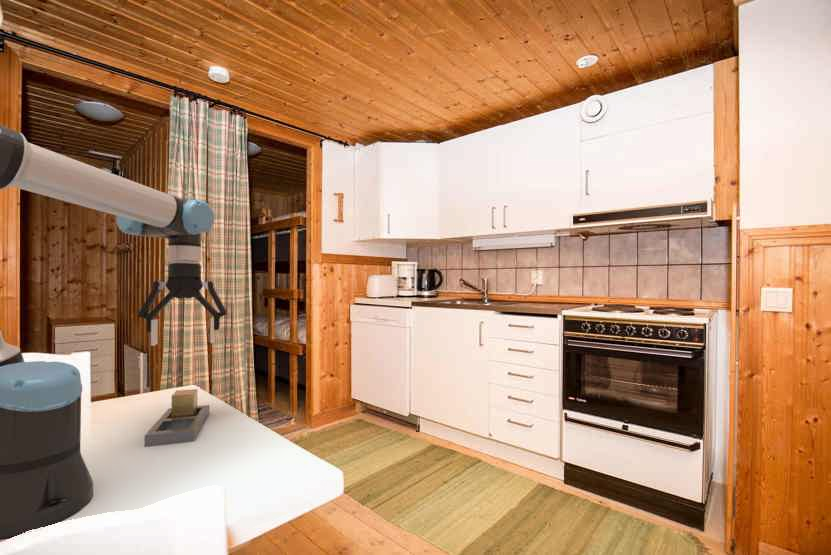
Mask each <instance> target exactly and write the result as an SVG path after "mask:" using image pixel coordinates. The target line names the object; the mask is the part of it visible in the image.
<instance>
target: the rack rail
mask: <svg viewBox="0 0 831 555" xmlns="http://www.w3.org/2000/svg"><path fill="white" fill-rule="evenodd" d="M210 410H211V409H210V404H204V405H197V416H190V417H179V418H171V416H172V407H170V408H167V410H166V411H165V412H164V413H163V415H162V416H160V418H159V419H158V420H157V421H156V422H155V424H153V425H152V426H151V428H150V429H149V430H148V431H147V432H146V433H145V435H144V448H145V447H153V446H154V447H155V446H163V445H172V444H179V443H180V444H181V443H189V442H195V441H196V439H197V437H198V436H199V433H200V432H201V430H202V428H203V427H204V425H205V423H206V421H207V419H208V418H209V416H210V413H211V412H210Z"/></svg>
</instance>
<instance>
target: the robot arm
mask: <svg viewBox="0 0 831 555" xmlns="http://www.w3.org/2000/svg"><path fill="white" fill-rule="evenodd" d="M10 188H16V189H20V190H24V191H27V192H31V193H35V194H38V195H41V196H46V197H49V198H53V199H56V200H59V201H63V202H67V203H70V204H74V205H77V206H82V207H85V208H88V209H93V210H95V211H99V212H103V213H106V214H110V215H112V216H113V215H114V216H116V225H117V227H118V229H119V230H120V231H121V232H122V233H124V234H127V235H132V236H136V237H140V236H141V237H151V238H162V239H167V241H168V242H167V243H168V245H167V246H168V248H167V249H168V251H167V253H168V256H167V261H168V262H170V263H169V264H168V265H167V281H165V282H164V281H160V280H155V281H154V282H153V284H152V290H151V291H150V293H149V295H148V297H147V298H146V299H145V302H144V303H143V305H142V307H141V308H140V309H139V312H138V314H137V316H138V317H139V318H143V319H145V321H146V332H147V333H150V346H153V347H154V346H156V345H158V342H159V340H158V337H159V336H158V334H159V332H158V330H159V328H158V327H159V326H158V325H159V319H158V318H156V317H157V315H158V314H159V313H161V311H162V310H163V309H164V308H165V307H166V306H167V305H168V304H169V303H170V302H172V300H174V299H184V298H185V299H193V298H194V299H195V300H197V301H198V302H199V303H200V304H201V305H202V306H203V308H205V310H207V312H208V313H210V315H211V316H212V317H211V318H210V330H209V332H210V340H209V341H210V344H214V343H215V342H216V331H218V330H220V325H221V323H220V321H221V317H224V316H227V314H228V311H227V309H226V307H225V305H224V303H223V302H222V300H221V298H220V296H219V294H218V292H217V290H216V289H215V282H214V281H211V280H210V281H205V282H202V265H201V264H200V262H202V234H204V233H207V232H209V231H210V230H211V229H212V228H213V226H214V221H215V213H214V211H213V208H212V207H211V206H210V205H209V203H207V202H206V201H204V200H199V199H189V200H186V199H183V198H180V197H177V196H175V195H171V194H169V193H166V192H163V191H160V190H157V189H155V188H152V187H150V186H146V185H144V184H141V183H139V182H136V181H133V180H130V179H128V178H125V177H123V176H120V175H117V174H114V173H112V172H109V171H108V170H107V171H106V170H104V169H100V168H98V167H96V166H93V165H91V164H87V163H85V162H82V161H81V160H80V161H79V160H76V159H74V158H71V157H68V156H66V155H64V154H61V153H57V152H55V151H52V150H50V149H48V148H44V147H41V146H39V145H36V144H33V143H31V142H28V140H27V138H26V137H25V136H24V134H23V133H22V132H20V131H18V130H14V129H11V128H9V127H6V126H4V125H2V124H0V191H3V190H7V189H10ZM203 287H204V289H205V290H207V291H208V293H209V295H210V296H211V298H212V300H213V302H214V304H215V306H216V308H217V309H218V310H219V311H217V309H216V308H215V307H213V305H212V304H211V303H210V302H209V301H208V300H207V299H206V298H205V297H204V295H203V294H202V293H201V292H200V291H201V290H202V289H203ZM164 288H166V289H167V290H168V293H167V294H166V295H165V296H164V298H163V299H162V300H161V301H159V303H157V305H156V306H154V308H153V309H151V308H152V307H153V304H155V301H156V299H157V298H158V296H159V294H160V292H161V291H162V290H164ZM150 309H151V311H150ZM81 379H82V378H81V373H80V370H79V369H78V368H77V367H76V366H75V365H72V364H70V363H66V362H61V361H44V360H41V361H40V360H37V361H36V360H35V361H25V359H24V357H23V354H22V351H21V348H20V347H19V346H17V345H12V344H9V343H8V342H6V341H5V339H4V337H3V333H2V331H1V329H0V539H6V538H9V537H10V538H11V537H14V536H19V535H22V534H21V533H23V532H26V531H29V530H32V529H37V528H40V527H43V526H45V527H48V526H50V524H51V525H54V524H55V523H57V522H60V521H62V520H64V519H66V518H68V517H70V516H72V515H73V514H75V513H78V512H79V511H80V510H81V509H83V508H84V507H86V505H88V504H89V503H90V502H91V500H93V496H94V480H93V478H92V476H91V474H90V470H89V469H88V467H87V465H86V462H85V460H84V457H83V456H82V454H81V434H82V432H81V429H82V428H81V426H82V425H81V424H82V419H81V418H82V393H83V383H82V380H81ZM47 525H48V526H47ZM43 528H44V527H43ZM40 529H41V528H40ZM37 530H38V529H37ZM18 534H19V535H18ZM23 534H24V533H23Z"/></svg>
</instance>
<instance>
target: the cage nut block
mask: <svg viewBox="0 0 831 555" xmlns="http://www.w3.org/2000/svg"><path fill="white" fill-rule="evenodd" d="M198 390H199V389H198V388H193V389H191V388H190V389H177V390H176V391H175V392H174V393H173V394H172V395H171V408H172V416H171V418H179V417H190V416H197V406H198Z"/></svg>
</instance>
